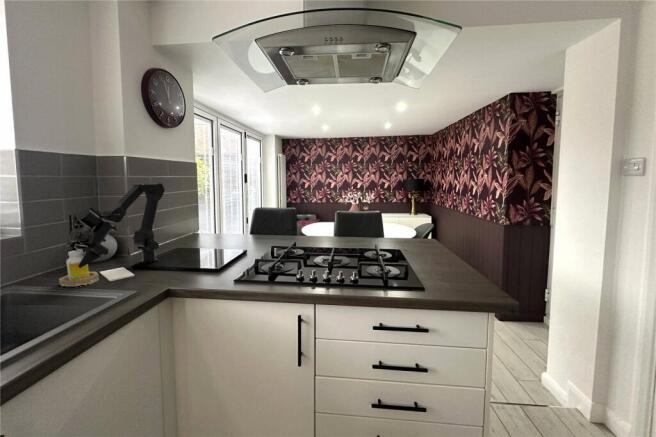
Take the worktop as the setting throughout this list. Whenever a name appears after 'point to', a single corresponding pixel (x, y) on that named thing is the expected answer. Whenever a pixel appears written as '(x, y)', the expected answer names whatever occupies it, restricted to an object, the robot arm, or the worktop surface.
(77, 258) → the supplement bottle
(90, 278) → the ring holder
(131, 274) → the pad
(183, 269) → the worktop surface
